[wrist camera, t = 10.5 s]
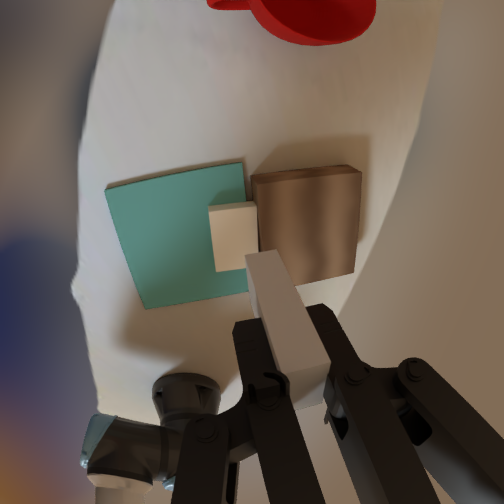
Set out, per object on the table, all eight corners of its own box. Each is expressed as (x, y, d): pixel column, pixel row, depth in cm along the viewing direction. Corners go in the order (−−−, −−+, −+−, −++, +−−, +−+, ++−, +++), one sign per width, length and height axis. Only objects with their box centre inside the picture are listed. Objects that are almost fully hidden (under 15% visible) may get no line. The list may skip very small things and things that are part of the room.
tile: (214, 264, 42) (216, 272, 40) (207, 206, 37) (208, 211, 35) (255, 258, 43) (258, 266, 41) (253, 200, 38) (256, 206, 36)
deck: (260, 276, 45) (266, 291, 42) (250, 175, 37) (256, 184, 33) (342, 259, 47) (353, 272, 43) (347, 164, 38) (361, 172, 35)
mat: (145, 306, 44) (145, 309, 44) (105, 189, 34) (104, 190, 33) (255, 287, 46) (256, 289, 46) (241, 162, 36) (241, 163, 35)
